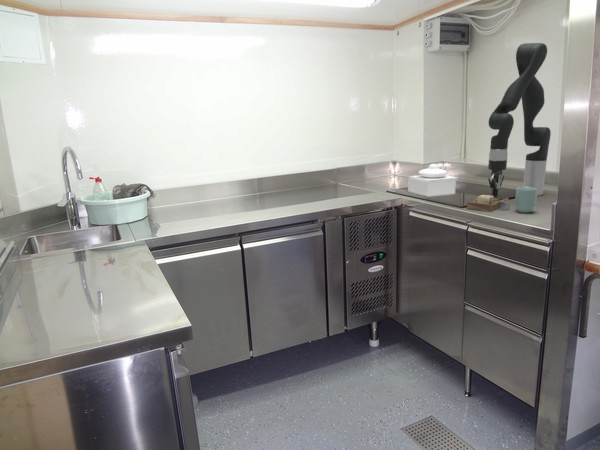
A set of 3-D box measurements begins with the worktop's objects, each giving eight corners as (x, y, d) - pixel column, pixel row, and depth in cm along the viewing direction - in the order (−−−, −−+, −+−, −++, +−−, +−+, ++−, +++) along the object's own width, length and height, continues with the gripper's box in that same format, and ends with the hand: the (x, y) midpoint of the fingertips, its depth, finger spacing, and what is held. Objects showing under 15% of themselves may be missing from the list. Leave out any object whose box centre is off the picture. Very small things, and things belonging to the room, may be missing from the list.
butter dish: (407, 192, 235) (408, 163, 231) (435, 189, 241) (436, 161, 237) (427, 197, 219) (428, 166, 215) (456, 194, 225) (458, 163, 221)
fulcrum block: (501, 208, 188) (502, 200, 188) (508, 208, 186) (509, 201, 186) (498, 209, 186) (498, 201, 185) (505, 210, 184) (506, 202, 183)
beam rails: (486, 201, 204) (486, 194, 203) (508, 203, 197) (509, 196, 196) (466, 209, 189) (467, 201, 188) (490, 211, 182) (490, 204, 181)
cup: (537, 214, 176) (540, 189, 173) (517, 213, 177) (519, 189, 175) (531, 210, 183) (534, 186, 181) (512, 209, 185) (514, 186, 182)
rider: (481, 205, 194) (482, 194, 192) (492, 207, 190) (493, 196, 189) (476, 207, 190) (477, 196, 189) (488, 209, 187) (489, 197, 186)
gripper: (495, 157, 200) (492, 193, 205) (483, 160, 191) (480, 198, 196) (512, 158, 195) (508, 195, 200) (500, 161, 186) (497, 200, 191)
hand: (494, 196), depth 198 cm, fingers closed
